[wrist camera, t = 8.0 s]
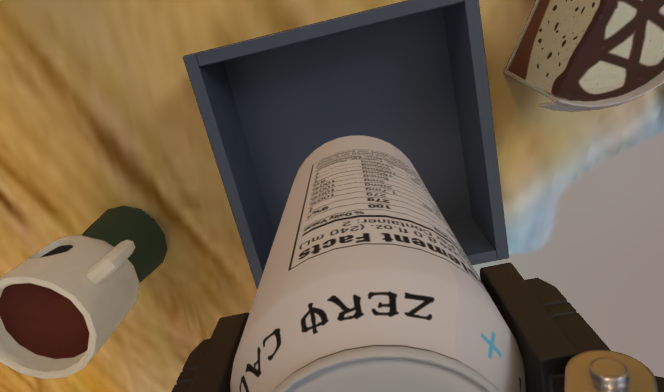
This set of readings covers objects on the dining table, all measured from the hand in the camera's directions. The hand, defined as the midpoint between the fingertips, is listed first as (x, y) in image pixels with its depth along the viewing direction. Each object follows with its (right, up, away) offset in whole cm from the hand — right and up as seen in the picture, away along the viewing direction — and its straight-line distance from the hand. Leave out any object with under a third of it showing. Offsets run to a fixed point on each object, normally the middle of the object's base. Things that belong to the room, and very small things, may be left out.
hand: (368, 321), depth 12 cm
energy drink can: (0, +4, +10) cm, 11 cm away
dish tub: (+1, +8, +24) cm, 25 cm away
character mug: (-18, 0, +27) cm, 32 cm away
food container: (+16, +16, +21) cm, 31 cm away
